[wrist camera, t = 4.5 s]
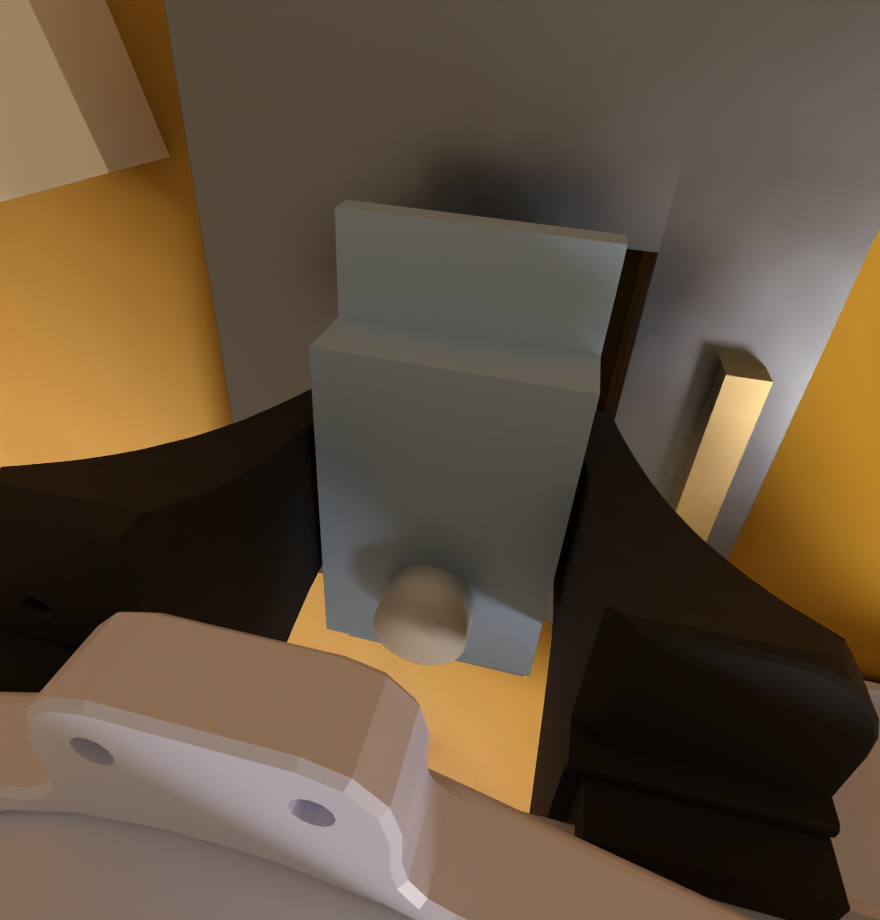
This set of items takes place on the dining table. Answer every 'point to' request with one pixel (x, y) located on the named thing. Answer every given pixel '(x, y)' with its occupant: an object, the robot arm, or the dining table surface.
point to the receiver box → (68, 97)
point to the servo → (454, 425)
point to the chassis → (556, 186)
